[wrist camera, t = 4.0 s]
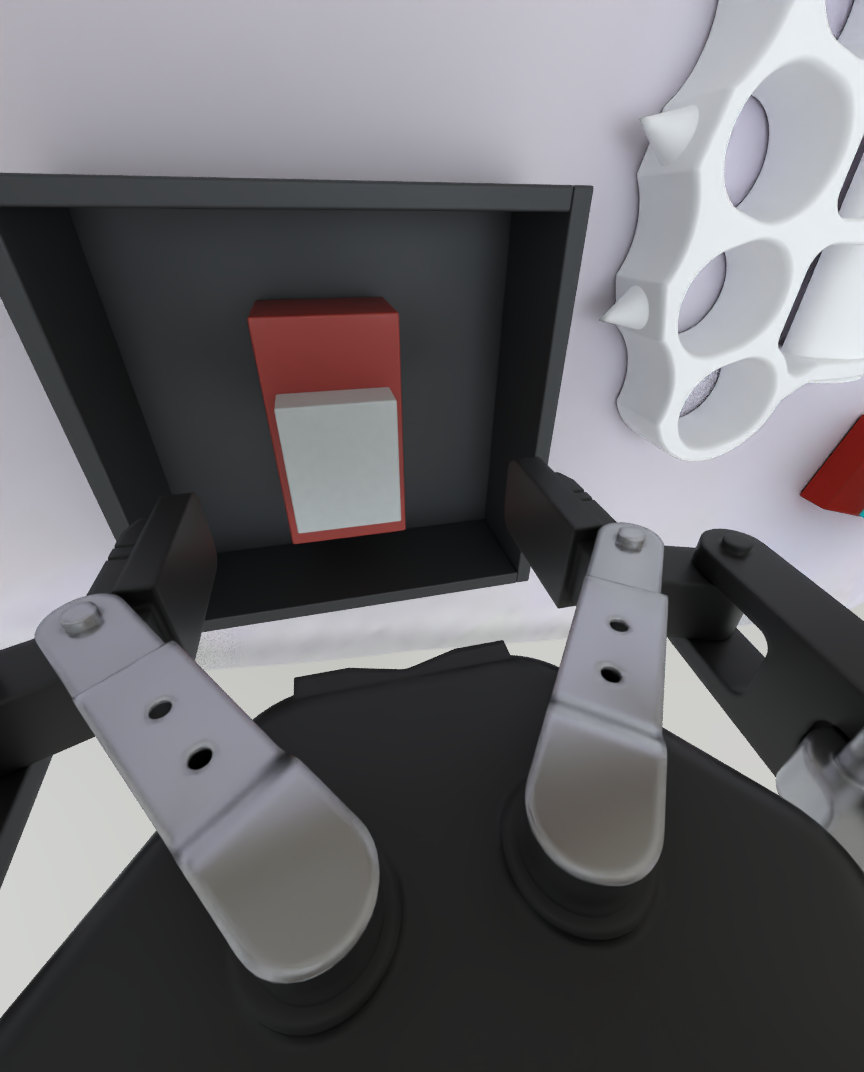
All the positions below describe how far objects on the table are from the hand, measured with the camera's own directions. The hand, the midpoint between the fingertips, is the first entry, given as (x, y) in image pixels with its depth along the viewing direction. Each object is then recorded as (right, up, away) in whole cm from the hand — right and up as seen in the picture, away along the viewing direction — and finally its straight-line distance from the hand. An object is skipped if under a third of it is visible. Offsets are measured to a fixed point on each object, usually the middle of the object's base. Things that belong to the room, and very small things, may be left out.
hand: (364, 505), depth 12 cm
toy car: (-2, +5, +7) cm, 8 cm away
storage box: (-2, +5, +7) cm, 9 cm away
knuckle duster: (+15, +12, +7) cm, 21 cm away
